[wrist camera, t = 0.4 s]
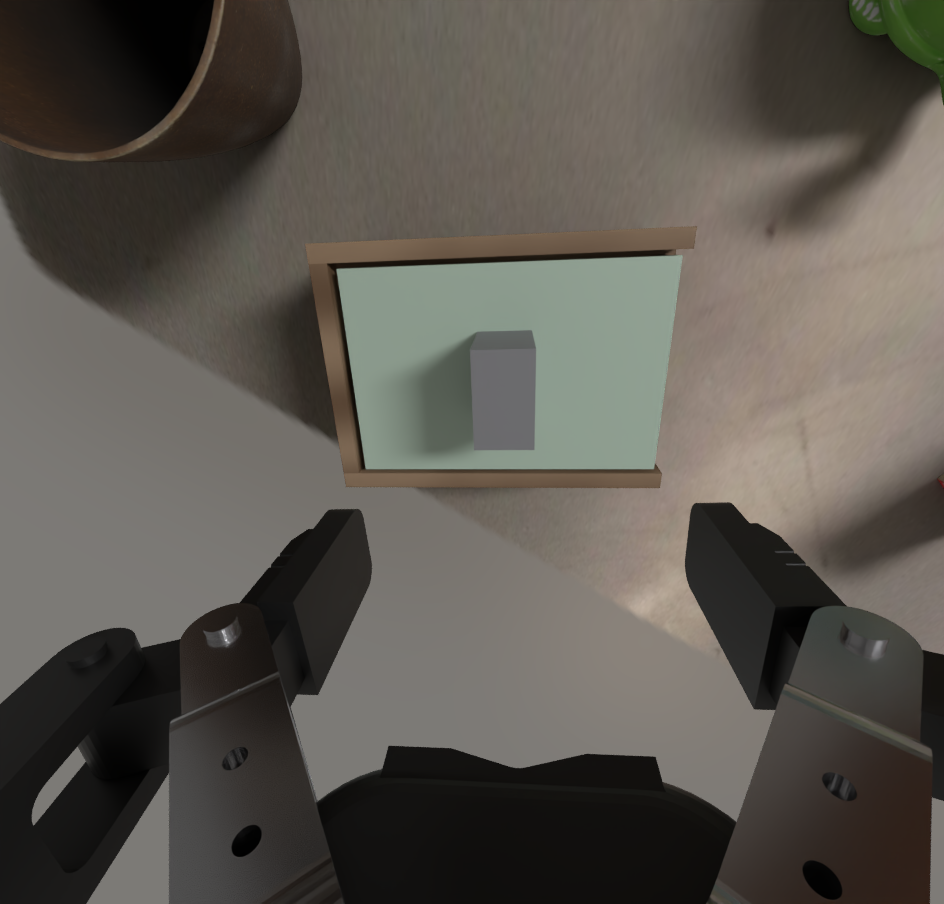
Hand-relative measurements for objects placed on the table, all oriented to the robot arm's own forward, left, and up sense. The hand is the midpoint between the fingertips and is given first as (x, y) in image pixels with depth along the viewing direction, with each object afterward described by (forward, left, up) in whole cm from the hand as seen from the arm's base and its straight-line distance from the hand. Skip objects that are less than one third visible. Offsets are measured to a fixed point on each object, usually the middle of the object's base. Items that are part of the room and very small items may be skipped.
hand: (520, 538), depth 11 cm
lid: (0, -1, -18) cm, 18 cm away
